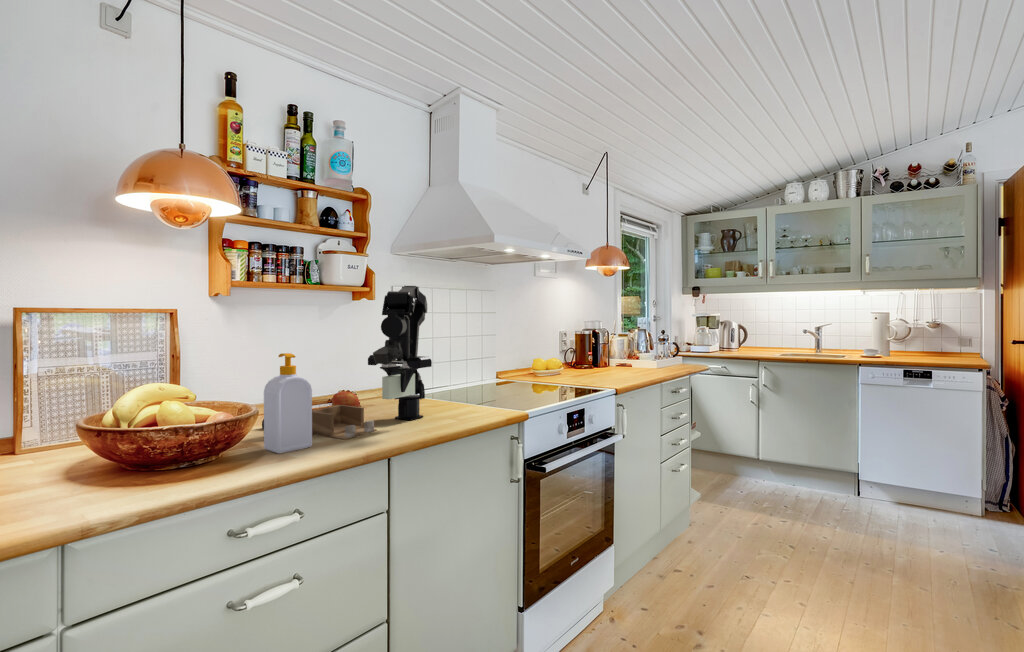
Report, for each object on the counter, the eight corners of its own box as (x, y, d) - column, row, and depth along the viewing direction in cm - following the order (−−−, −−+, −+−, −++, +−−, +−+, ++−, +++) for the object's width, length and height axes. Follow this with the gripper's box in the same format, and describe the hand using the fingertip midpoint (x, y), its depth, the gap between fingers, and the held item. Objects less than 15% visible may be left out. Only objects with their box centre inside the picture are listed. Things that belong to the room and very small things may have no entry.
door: (408, 393, 154) (408, 373, 154) (415, 394, 153) (415, 373, 153) (382, 398, 144) (382, 376, 144) (389, 399, 143) (389, 377, 143)
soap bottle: (297, 442, 134) (297, 351, 133) (312, 446, 130) (312, 353, 129) (262, 449, 127) (261, 353, 126) (276, 454, 123) (276, 355, 122)
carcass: (340, 425, 154) (340, 404, 154) (377, 430, 148) (377, 409, 148) (307, 433, 144) (307, 411, 144) (344, 439, 137) (344, 416, 137)
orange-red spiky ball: (332, 414, 170) (332, 390, 170) (359, 413, 172) (359, 389, 172) (330, 419, 162) (330, 393, 162) (359, 418, 165) (359, 392, 164)
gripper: (353, 336, 146) (353, 392, 146) (406, 338, 137) (406, 398, 137) (381, 335, 156) (381, 388, 156) (432, 336, 147) (432, 392, 147)
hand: (399, 391), depth 149 cm, fingers closed on door, 2 cm apart
